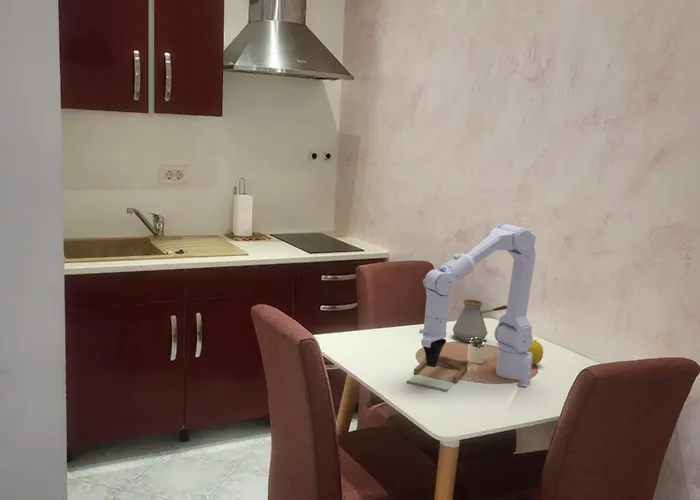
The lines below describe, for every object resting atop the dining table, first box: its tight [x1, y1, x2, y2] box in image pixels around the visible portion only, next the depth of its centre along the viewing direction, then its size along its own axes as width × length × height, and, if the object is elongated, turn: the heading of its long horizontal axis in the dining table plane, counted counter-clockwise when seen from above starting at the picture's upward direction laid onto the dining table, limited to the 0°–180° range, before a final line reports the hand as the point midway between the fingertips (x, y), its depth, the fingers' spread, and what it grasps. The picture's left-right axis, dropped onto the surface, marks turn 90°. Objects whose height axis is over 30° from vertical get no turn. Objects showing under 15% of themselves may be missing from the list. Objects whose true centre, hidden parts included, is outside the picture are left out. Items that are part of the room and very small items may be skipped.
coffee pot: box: [452, 299, 507, 343], centre depth 217 cm, size 21×12×15 cm, turn 62°
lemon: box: [527, 339, 544, 366], centre depth 198 cm, size 6×6×8 cm
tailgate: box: [406, 374, 455, 393], centre depth 175 cm, size 11×1×7 cm
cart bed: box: [413, 354, 469, 384], centre depth 184 cm, size 12×11×4 cm
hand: (431, 365), depth 174 cm, fingers closed
